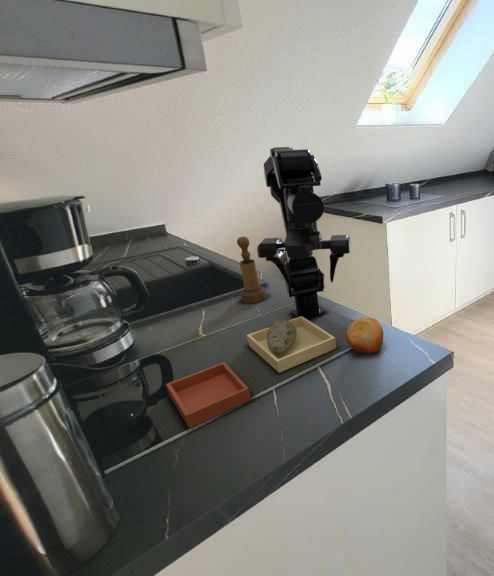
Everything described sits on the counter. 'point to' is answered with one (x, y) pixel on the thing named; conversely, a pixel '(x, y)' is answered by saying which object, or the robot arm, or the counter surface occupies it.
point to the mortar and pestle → (249, 275)
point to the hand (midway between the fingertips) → (311, 283)
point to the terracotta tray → (208, 393)
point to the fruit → (365, 335)
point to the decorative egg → (281, 336)
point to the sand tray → (294, 345)
